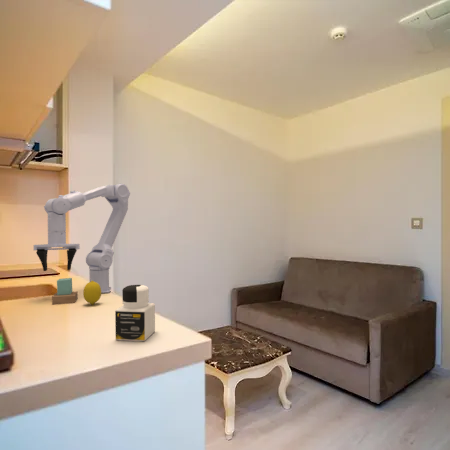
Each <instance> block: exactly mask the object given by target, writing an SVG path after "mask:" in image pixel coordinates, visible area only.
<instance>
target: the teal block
mask: <svg viewBox="0 0 450 450" xmlns="http://www.w3.org/2000/svg"><path fill="white" fill-rule="evenodd" d="M72 278H73V277H67V278H59V279H57V280H56V288H57V289H56V291H57V292H56V293H57V295H68V294H71V293H72V292H73V279H72Z"/></svg>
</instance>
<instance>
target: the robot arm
mask: <svg viewBox="0 0 450 450" xmlns="http://www.w3.org/2000/svg"><path fill="white" fill-rule="evenodd" d="M130 195H131V192H130V189H129V187H128V186H127V184H125V183H117V184H107V185H100V186H98V187H95V188H92V189H90V190H89V189H88V190H87V191H84V192H81V191H78V190H77V191H76V190H71V191H69V193H67V194H64V195H63V194H59V195H57V196H58V197H55V198H49V199H48V200H47V201H45V204H44V206H43V208H44V211H45V212H46V214H47V244H44V243H43V244H33V251H36V253H35V254H36V255H37V257H38V258H39V260H40V263H41V266H42V270H43V272H46V271H48V251H59V250H66V257H67V262H66V263H67V267H66V269H67V271H70V270H71V269H72V268H71V267H72V264H73V260H74V257H75V255H76V254H77V251H78V250H80V249H81V247H80V243H67V230H66V229H67V221H66V220H67V219H66V214H67V213H68V212H69V211H72V210H75V209H77V208H80V207H83V206H85V203H86V202H87V201H90V200H93V199H95V198H99V197H102V198H105V199H106V201H107V202H108V203H109V205H110V206H111V207H112V211H111V213H110V216H109V218H108V220H107V221H106V222H107V223H106V225H105V226H104V229H103V232H102V234H101V236H100V238H99V240H98V243H96V245H94V246H93V247H92V249H91V250H90V251H89V253H87V255H86V256H85V263H86V265H87V266H88V270H89V282H91V281H94V282H96V283H98V284H99V285H100V288H101V294H107V293H108V294H109V293H110V292H111V289H112V287H111V286H110V267H111V266H112V265H113V258H114V253H115V252H114V250H113V246H114V244H115V241H116V239H117V237H118V234H119V231H120V229H121V226H122V224H123V222H124V219H125V217H126V214H127V212H128V210H129V198H130Z"/></svg>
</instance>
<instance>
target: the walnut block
mask: <svg viewBox="0 0 450 450" xmlns="http://www.w3.org/2000/svg"><path fill="white" fill-rule="evenodd" d="M78 295H79V294H78V291H72V293H71V294H68V295H57V292H55V293H54V294H53V295H52V298H51V299H52V301H51V305H52V306H53V305H65V304H66V305H67V304H69V305H70V304H76V302H77V301H78Z"/></svg>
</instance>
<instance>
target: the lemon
mask: <svg viewBox="0 0 450 450" xmlns="http://www.w3.org/2000/svg"><path fill="white" fill-rule="evenodd" d="M82 294H83V295H82V296H83V299H84V301H86V302H87V303H89V304H90V305H92V306H93V305H94V304H95V303H97V302H98V301H99V300H100V299H101V296H102V293H101V288H100V285H99V284H98V283H96V282H94V281H91V282H90V281H89V282H87V283H86V284H85V286H84V287H83V293H82Z"/></svg>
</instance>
